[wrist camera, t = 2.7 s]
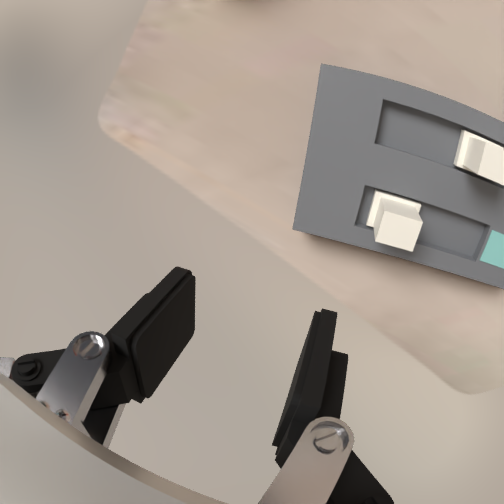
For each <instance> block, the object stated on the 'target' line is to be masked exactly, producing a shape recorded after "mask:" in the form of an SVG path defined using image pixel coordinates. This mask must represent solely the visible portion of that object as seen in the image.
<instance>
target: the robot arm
mask: <svg viewBox="0 0 504 504" xmlns="http://www.w3.org/2000/svg"><path fill="white" fill-rule="evenodd" d="M336 319H337V312H334V311H330V310H326V309H322V310H321V312H317V311H315V313H314V316H313V319H312V322H311V325H310V328H309V331H308V334H307V337H306V340H305V343H304V346H303V349H302V353H301V355H300V358H299V361H298V364H297V367H296V370H295V374H294V377H293V381H292V384H291V387H290V390H289V394H288V397H287V400H286V403H285V407H284V410H283V413H282V416H281V419H280V422H279V425H278V428H277V432H276V434H275V437H274V440H273V443H272V445H273V446H277V451H276V454H275V455H277V456H276V459H275V461H276V462H277V464H278V465H279V467H280V468H281V470H280V472H279V473H278V475H277V476H276V478H275V479H274V481H273V482H272V484H271V485H270V487H269V488H268V490H267V491H266V493H265V494H264V495H263V497H262V499H261V500H260V501H259V503H258V504H394V502H393V500H392V498H391V497H390V495H389V494H388V493H387V492H386V490H385V489H384V488H383V487H382V486H381V485H380V483H379V482H378V481H377V480H376V479H375V478H374V476H373V475H372V474H371V473H370V471H369V470H368V469H367V468H366V467H365V465H364V464H363V463H362V462H361V461H360V459H359V458H358V457H357V456H356V454H355V453H354V452H353V451H352V448H353V443H354V436H353V433H352V431H351V429H350V427H349V426H348V425H347V424H346V423H345V422H343V421H341V420H340V414H341V407H342V400H343V394H344V387H345V380H346V371H347V364H348V354H345V353H341V352H337V351H333V350H332V345H333V339H334V333H335V326H336ZM194 330H195V276H193V275H192V272H191V271H190V270H187V269H184V268H180V267H175V268H174V269H173V270H172V271H171V272H170V273H169V274H168V275H167V276H166V277H165V278H164V279H163V280H162V281H161V282H160V283H159V284H158V285H157V286H156V287H155V288H154V289H153V290H152V291H151V292H150V293H147V294H145V295H144V296H143V297H142V298H141V299H140V300H139V301H138V302H137V303H136V304H135V305H134V306H133V307H132V308H131V309H130V310H129V311H128V312H127V313H126V314H125V315H124V316H123V317H122V318H121V319H120V320H119V321H118V322H117V323H116V324H115V325H114V326H113V327H112V328H111V329H110V330H109V331H108V332H107V334H106V335H105V336H104V335H103V334H101V333H99V332H94V331H90V332H84V333H81V334H79V335H77V336H76V337H75V338H74V339H73V340H72V341H71V342H70V344H69V345H68V347H67V348H66V349H61V350H54V351H48V352H40V353H32V354H26V355H23V356H21V357H19V358H18V359H17V360H16V361H15V359H14V358H4V357H0V504H227V503H224V502H221V501H218V500H216V499H213V498H210V497H207V496H205V495H202V494H200V493H197V492H194V491H192V490H190V489H187V488H185V487H183V486H180V485H178V484H176V483H173V482H171V481H169V480H167V479H164V478H162V477H160V476H158V475H156V474H154V473H152V472H150V471H148V470H146V469H144V468H141V467H140V466H138V465H136V464H134V463H132V462H130V461H128V460H126V459H125V458H123V457H121V456H119V455H118V454H116V453H114V452H112V451H111V450H109V449H108V447H109V445H110V442H111V440H112V437H113V434H114V432H115V429H116V427H117V424H118V421H119V419H120V417H121V414H122V412H123V409H124V407H125V403H129V402H130V400H131V399H133V400H135V401H137V402H139V403H142V402H143V400H144V399H145V397H146V398H150V397H151V396H152V394H153V393H154V391H155V390H156V388H157V387H158V386H159V384H160V382H161V381H162V379H163V378H164V377H165V375H166V374H167V372H168V371H169V370H170V368H171V367H172V365H173V364H174V362H175V361H176V359H177V358H178V357H179V355H180V353H181V352H182V351H183V349H184V348H185V346H186V345H187V344H188V342H189V340H190V339H191V338H192V336H193V334H194Z"/></svg>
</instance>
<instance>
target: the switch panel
mask: <svg viewBox="0 0 504 504" xmlns="http://www.w3.org/2000/svg"><path fill="white" fill-rule="evenodd" d="M461 130H465V131H467V132H470V133H472V134H474V135H477V136H479V137H481V138H484V139H486V140H488V141H490V142H493V143H495V144H497V145H499V146H501V147H503V148H504V122H502V121H500V120H497V119H495V118H493V117H491V116H489V115H487V114H485V113H482V112H480V111H478V110H476V109H473V108H471V107H469V106H466V105H464V104H461V103H459V102H457V101H454V100H451V99H449V98H446V97H444V96H441V95H438V94H435V93H432V92H430V91H427V90H424V89H421V88H418V87H415V86H411V85H408V84H405V83H402V82H398V81H395V80H391V79H388V78H384V77H380V76H376V75H373V74H369V73H364V72H360V71H356V70H351V69H347V68H342V67H337V66H332V65H326V64H321V67H320V74H319V80H318V87H317V93H316V99H315V106H314V112H313V118H312V124H311V130H310V136H309V142H308V148H307V153H306V159H305V165H304V170H303V176H302V181H301V187H300V192H299V197H298V203H297V208H296V213H295V218H294V223H293V230H297V231H301V232H305V233H309V234H313V235H317V236H320V237H324V238H328V239H332V240H336V241H340V242H343V243H347V244H351V245H355V246H358V247H362V248H366V249H369V250H373V251H377V252H380V253H384V254H387V255H391V256H395V257H398V258H402V259H405V260H409V261H412V262H416V263H419V264H423V265H426V266H430V267H433V268H437V269H440V270H443V271H447V272H450V273H453V274H457V275H460V276H463V277H467V278H470V279H473V280H477V281H480V282H483V283H486V284H489V285H493V286H496V287H499V288H502V289H504V185H501V184H499V183H497V182H494V181H492V180H490V179H488V178H485V177H483V176H480V175H478V174H476V173H473V172H471V171H468V170H466V169H463V168H460V167H458V166H456V165H454V164H453V163H454V160H455V156H456V152H457V148H458V143H459V139H460V135H461ZM375 189H378V190H381V191H385V192H388V193H392V194H395V195H399V196H402V197H405V198H409V199H412V200H415V201H418V202H420V203H421V208H420V211H419V215H420V217H421V219H422V221H423V224H422V227H421V230H420V232H419V235H418V238H417V241H416V244H415V246H414V249H413V252H411V251H408V250H404V249H401V248H397V247H394V246H390V245H387V244H383V243H380V242H376V241H375V235H374V227H371V226H367V225H366V221H367V217H368V214H369V210H370V207H371V203H372V199H373V195H374V192H375Z"/></svg>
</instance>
